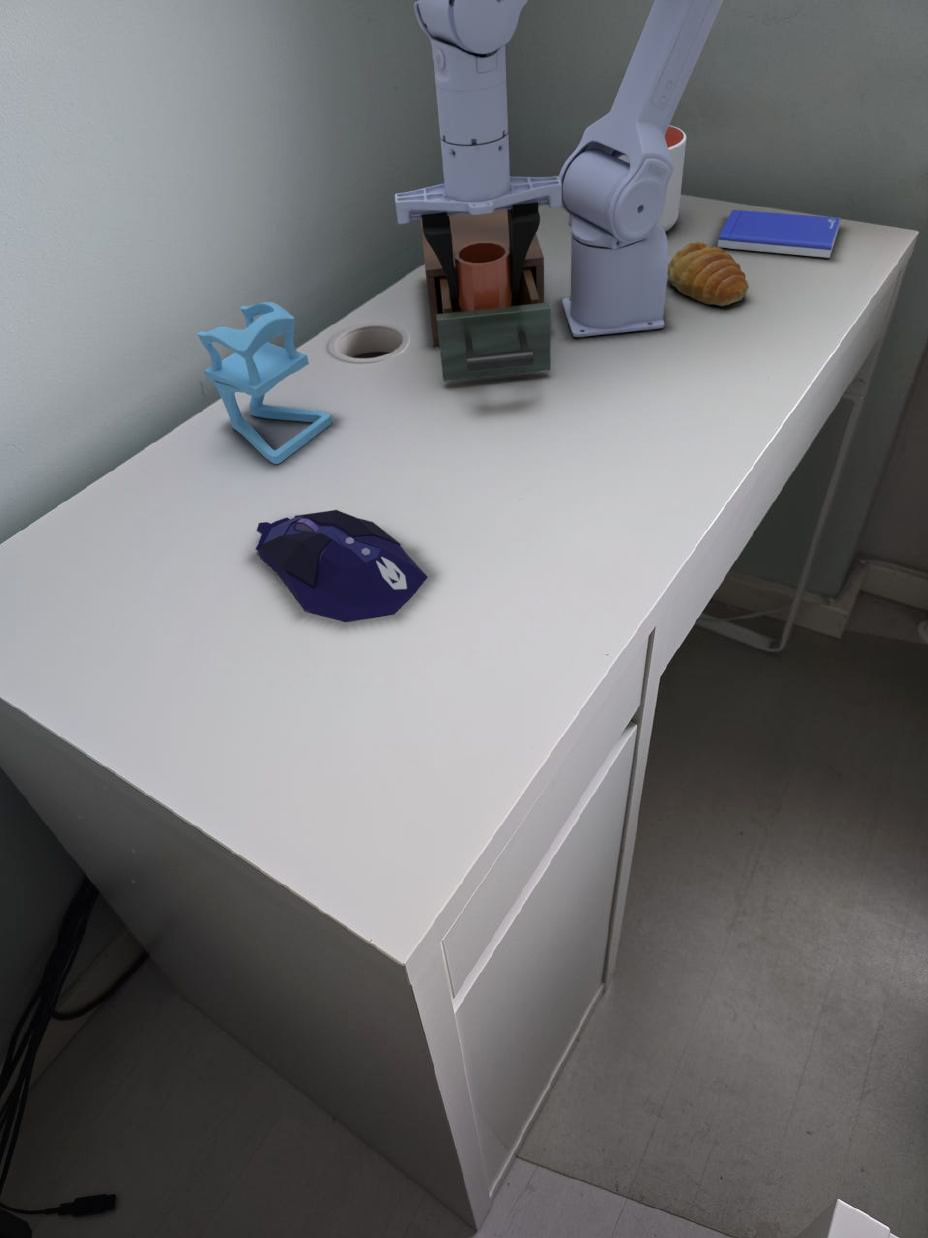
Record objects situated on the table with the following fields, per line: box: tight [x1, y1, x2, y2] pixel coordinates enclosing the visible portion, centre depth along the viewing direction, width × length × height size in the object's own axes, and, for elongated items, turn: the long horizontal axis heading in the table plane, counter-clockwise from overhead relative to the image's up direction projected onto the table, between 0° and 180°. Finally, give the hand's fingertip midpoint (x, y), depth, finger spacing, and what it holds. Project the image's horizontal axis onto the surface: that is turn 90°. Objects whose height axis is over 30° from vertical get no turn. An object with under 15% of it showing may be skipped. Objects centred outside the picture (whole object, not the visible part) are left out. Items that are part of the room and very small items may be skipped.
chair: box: [197, 301, 332, 465], centre depth 77 cm, size 8×8×12 cm
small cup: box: [454, 241, 512, 312], centre depth 82 cm, size 5×5×5 cm
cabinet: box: [419, 210, 545, 347], centre depth 93 cm, size 15×12×8 cm
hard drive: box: [717, 209, 842, 259], centre depth 101 cm, size 2×8×12 cm
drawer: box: [436, 267, 552, 382], centre depth 85 cm, size 18×10×6 cm, turn 4°
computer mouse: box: [254, 509, 428, 622], centre depth 66 cm, size 9×15×4 cm, turn 58°
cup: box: [619, 124, 687, 233], centre depth 104 cm, size 10×10×10 cm
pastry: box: [667, 241, 750, 307], centre depth 93 cm, size 9×7×4 cm
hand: (483, 290), depth 83 cm, fingers closed on small cup, 5 cm apart
